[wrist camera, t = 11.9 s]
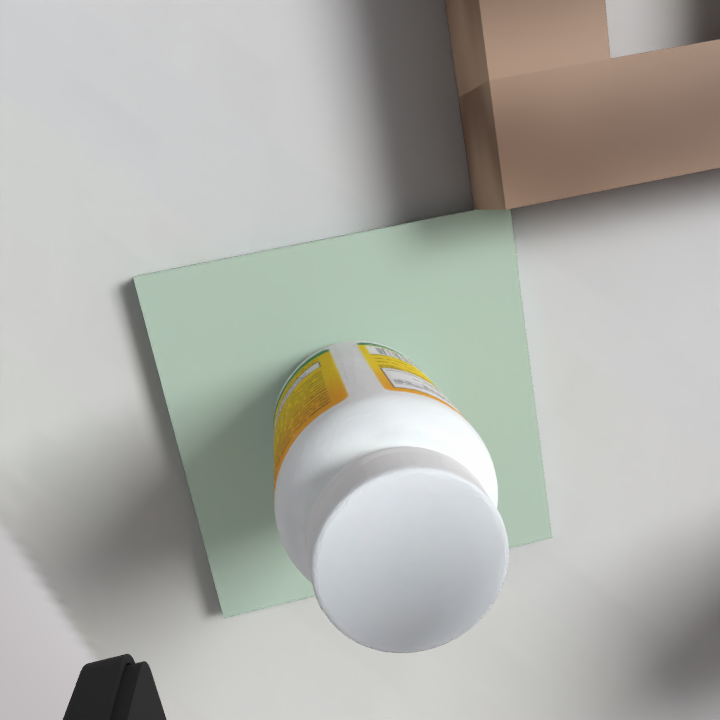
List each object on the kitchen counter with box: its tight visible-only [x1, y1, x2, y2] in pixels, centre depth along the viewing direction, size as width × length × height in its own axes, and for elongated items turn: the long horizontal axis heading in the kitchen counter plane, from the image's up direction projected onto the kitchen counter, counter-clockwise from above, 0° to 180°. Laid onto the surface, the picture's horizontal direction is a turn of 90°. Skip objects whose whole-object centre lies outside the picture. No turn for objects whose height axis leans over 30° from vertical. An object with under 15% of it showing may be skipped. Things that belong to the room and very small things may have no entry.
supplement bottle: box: [273, 341, 509, 653], centre depth 18 cm, size 5×5×10 cm
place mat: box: [133, 209, 552, 618], centre depth 23 cm, size 12×12×1 cm
